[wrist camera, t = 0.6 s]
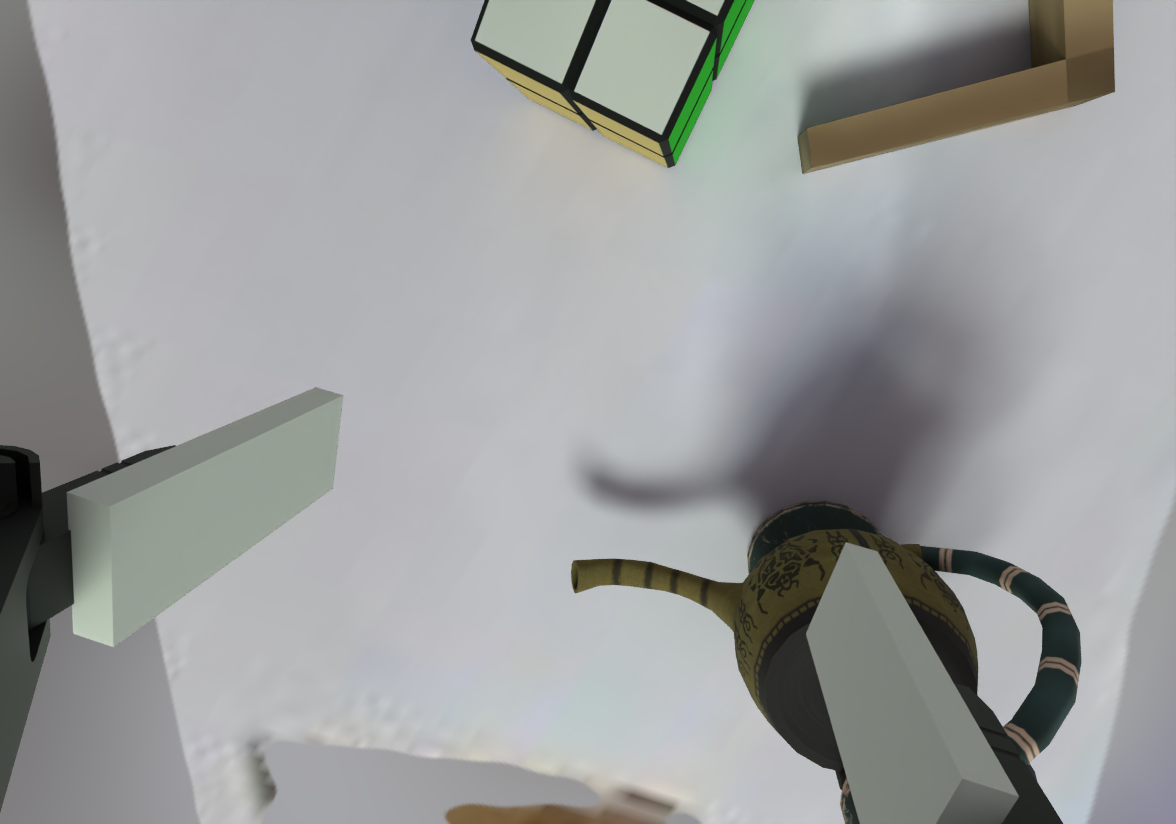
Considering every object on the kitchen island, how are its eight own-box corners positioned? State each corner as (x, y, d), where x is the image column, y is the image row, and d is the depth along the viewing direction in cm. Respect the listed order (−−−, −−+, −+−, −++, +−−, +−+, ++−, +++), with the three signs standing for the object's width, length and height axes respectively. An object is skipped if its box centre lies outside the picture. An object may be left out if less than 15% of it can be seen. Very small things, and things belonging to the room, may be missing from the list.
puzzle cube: (595, -86, 33) (557, -218, 24) (758, -7, 33) (785, -108, 24) (524, 97, 36) (465, 45, 27) (672, 171, 36) (665, 145, 27)
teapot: (940, 654, 41) (1223, 1124, 19) (581, 611, 45) (476, 962, 23) (975, 492, 38) (1365, 834, 16) (585, 460, 42) (466, 701, 20)
